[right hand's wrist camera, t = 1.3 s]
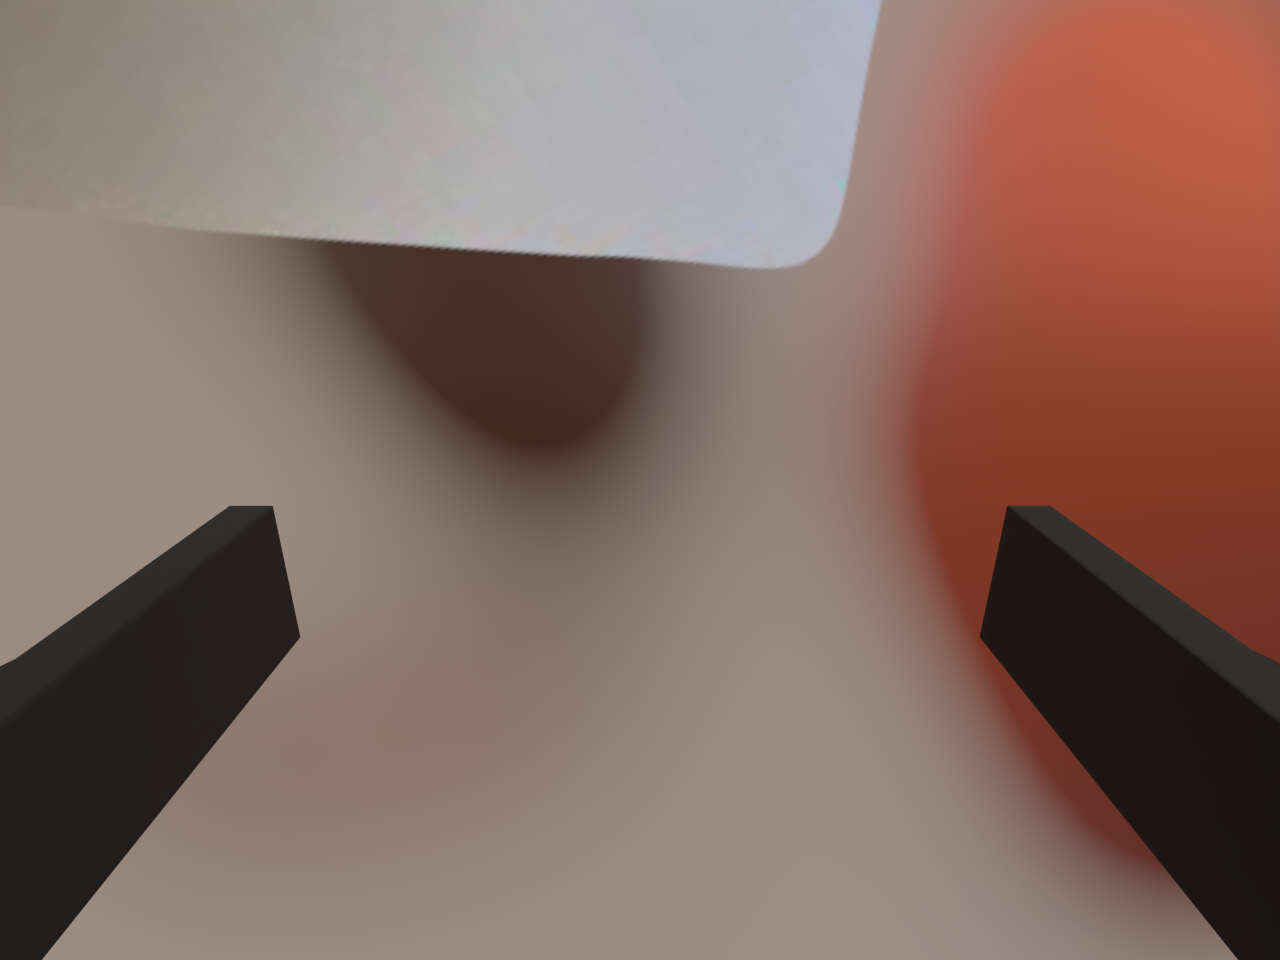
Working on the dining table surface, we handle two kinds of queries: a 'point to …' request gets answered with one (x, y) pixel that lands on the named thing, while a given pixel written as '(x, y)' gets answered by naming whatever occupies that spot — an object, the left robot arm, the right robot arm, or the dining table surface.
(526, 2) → the dining table surface
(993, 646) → the right robot arm
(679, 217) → the dining table surface
